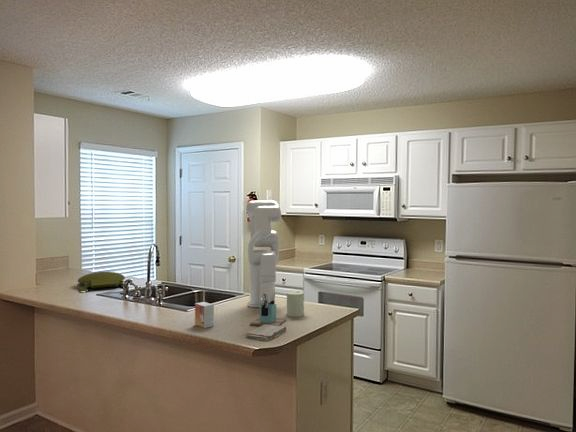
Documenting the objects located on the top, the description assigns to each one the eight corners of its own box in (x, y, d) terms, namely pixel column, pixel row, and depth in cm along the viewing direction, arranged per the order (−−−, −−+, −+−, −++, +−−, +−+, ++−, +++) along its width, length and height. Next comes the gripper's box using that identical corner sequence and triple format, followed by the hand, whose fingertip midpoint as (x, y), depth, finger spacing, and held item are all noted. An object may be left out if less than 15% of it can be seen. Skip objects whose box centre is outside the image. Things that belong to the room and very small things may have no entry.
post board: (259, 318, 230) (259, 303, 230) (285, 320, 226) (285, 305, 226) (249, 325, 218) (249, 310, 217) (277, 327, 214) (277, 312, 213)
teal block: (264, 318, 226) (264, 303, 225) (276, 319, 224) (276, 304, 224) (259, 322, 220) (259, 306, 220) (272, 323, 218) (272, 307, 218)
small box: (194, 325, 219) (194, 303, 219) (204, 322, 223) (204, 301, 223) (204, 328, 214) (204, 306, 213) (214, 326, 217) (213, 304, 217)
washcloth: (244, 339, 198) (244, 332, 198) (264, 328, 215) (264, 322, 214) (268, 342, 193) (268, 335, 193) (286, 331, 209) (286, 324, 209)
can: (307, 313, 240) (307, 291, 239) (298, 317, 232) (298, 294, 231) (292, 311, 244) (291, 289, 244) (283, 315, 236) (283, 292, 236)
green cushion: (129, 289, 310) (129, 274, 310) (80, 293, 295) (80, 278, 294) (121, 281, 340) (120, 267, 340) (75, 284, 325) (75, 271, 325)
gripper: (266, 275, 230) (267, 308, 231) (254, 281, 214) (254, 317, 215) (280, 275, 228) (281, 309, 229) (269, 281, 212) (269, 318, 212)
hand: (268, 313), depth 222 cm, fingers open, 9 cm apart
